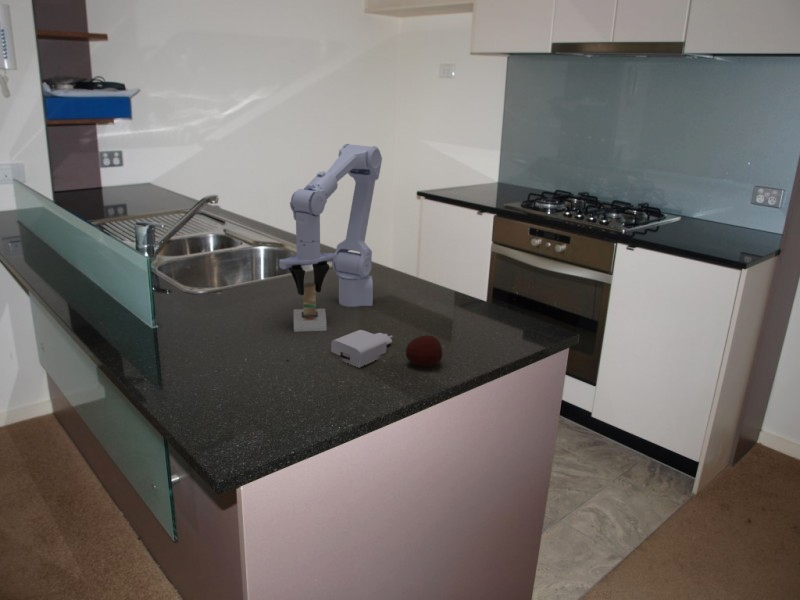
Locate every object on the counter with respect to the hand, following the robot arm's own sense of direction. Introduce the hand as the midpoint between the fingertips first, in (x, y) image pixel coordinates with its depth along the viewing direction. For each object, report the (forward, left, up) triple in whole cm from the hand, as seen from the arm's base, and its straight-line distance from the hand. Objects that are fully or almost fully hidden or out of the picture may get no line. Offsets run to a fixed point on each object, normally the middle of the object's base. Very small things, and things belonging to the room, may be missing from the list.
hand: (309, 292), depth 159 cm
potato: (-25, +23, -10) cm, 35 cm away
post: (0, 0, -5) cm, 5 cm away
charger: (-13, +16, -10) cm, 23 cm away
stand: (0, 0, -10) cm, 10 cm away
